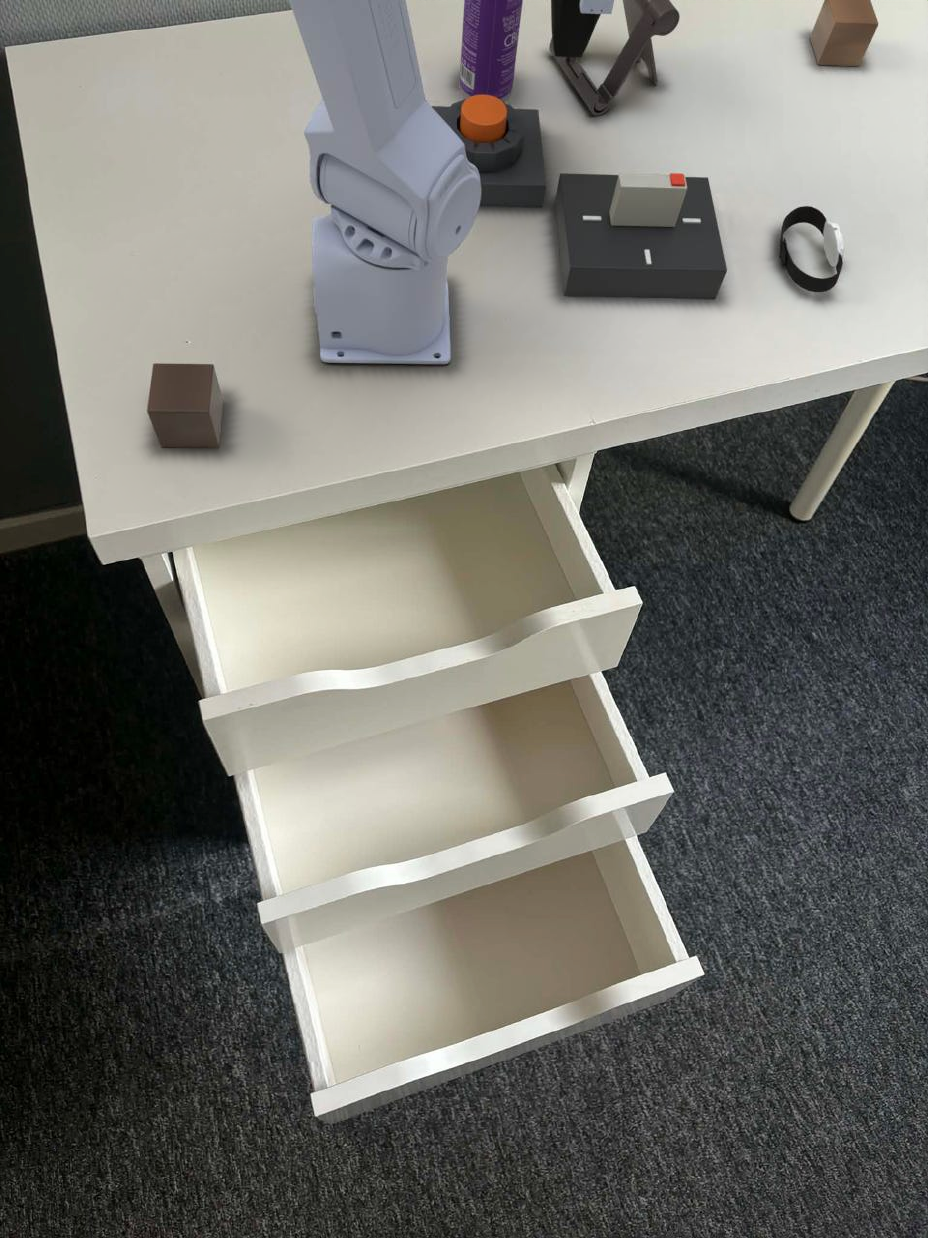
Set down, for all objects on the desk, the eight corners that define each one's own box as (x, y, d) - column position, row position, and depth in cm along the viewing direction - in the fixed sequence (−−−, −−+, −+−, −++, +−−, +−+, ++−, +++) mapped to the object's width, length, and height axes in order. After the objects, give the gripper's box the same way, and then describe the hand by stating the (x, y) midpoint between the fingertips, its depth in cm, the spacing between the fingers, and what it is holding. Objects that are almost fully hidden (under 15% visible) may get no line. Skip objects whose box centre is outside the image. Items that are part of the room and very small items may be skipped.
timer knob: (610, 225, 73) (621, 183, 69) (609, 212, 73) (619, 170, 70) (674, 227, 73) (688, 185, 70) (672, 213, 74) (685, 171, 70)
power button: (460, 143, 75) (462, 123, 73) (459, 113, 76) (460, 92, 75) (506, 145, 75) (508, 125, 73) (503, 114, 77) (505, 94, 75)
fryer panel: (563, 296, 73) (570, 265, 70) (554, 203, 78) (560, 170, 75) (715, 299, 74) (728, 268, 71) (697, 207, 78) (708, 175, 76)
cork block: (817, 64, 87) (835, 21, 84) (809, 37, 89) (826, -7, 86) (859, 66, 88) (879, 23, 84) (850, 38, 89) (869, -5, 86)
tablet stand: (546, 55, 86) (561, -43, 78) (623, 38, 87) (645, -59, 80) (589, 118, 82) (608, 22, 75) (668, 99, 84) (694, 4, 76)
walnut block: (160, 447, 65) (146, 411, 62) (166, 400, 67) (152, 362, 63) (219, 448, 65) (209, 411, 62) (223, 401, 67) (213, 363, 64)
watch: (846, 296, 75) (866, 261, 72) (790, 300, 75) (808, 265, 71) (817, 226, 78) (835, 189, 75) (763, 229, 78) (779, 192, 75)
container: (507, 110, 82) (528, -79, 69) (454, 100, 82) (465, -91, 69) (516, 76, 84) (539, -114, 71) (464, 66, 84) (477, -126, 71)
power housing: (419, 204, 77) (420, 162, 73) (418, 128, 80) (419, 84, 77) (542, 207, 77) (549, 165, 74) (535, 132, 81) (541, 88, 78)
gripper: (684, -94, 55) (632, 119, 67) (652, -227, 61) (610, -10, 73) (564, -99, 54) (533, 116, 66) (543, -232, 60) (519, -13, 73)
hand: (567, 50), depth 70 cm, fingers closed
